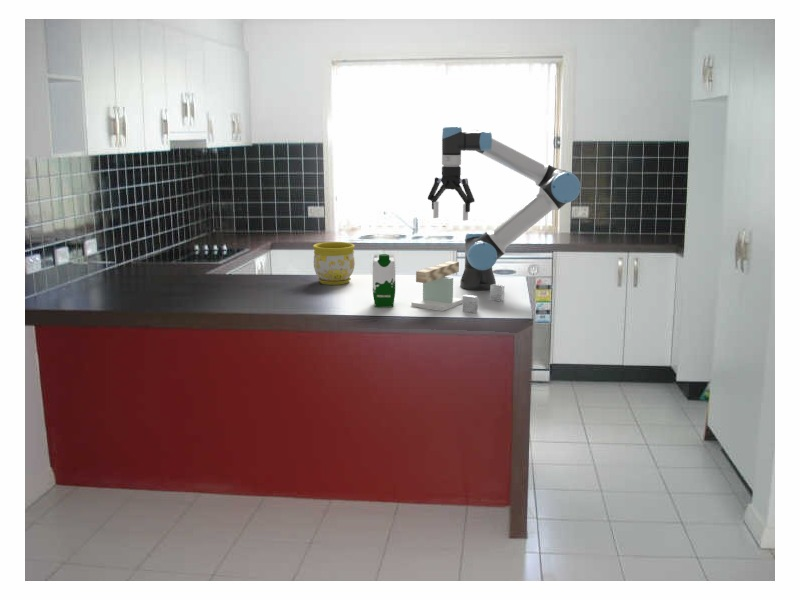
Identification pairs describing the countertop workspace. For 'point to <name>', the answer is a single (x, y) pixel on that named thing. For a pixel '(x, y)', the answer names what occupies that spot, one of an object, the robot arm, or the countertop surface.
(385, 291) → the milk carton
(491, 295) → the posts
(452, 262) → the batten
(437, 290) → the ridge stand
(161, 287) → the countertop surface
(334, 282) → the flowerpot
